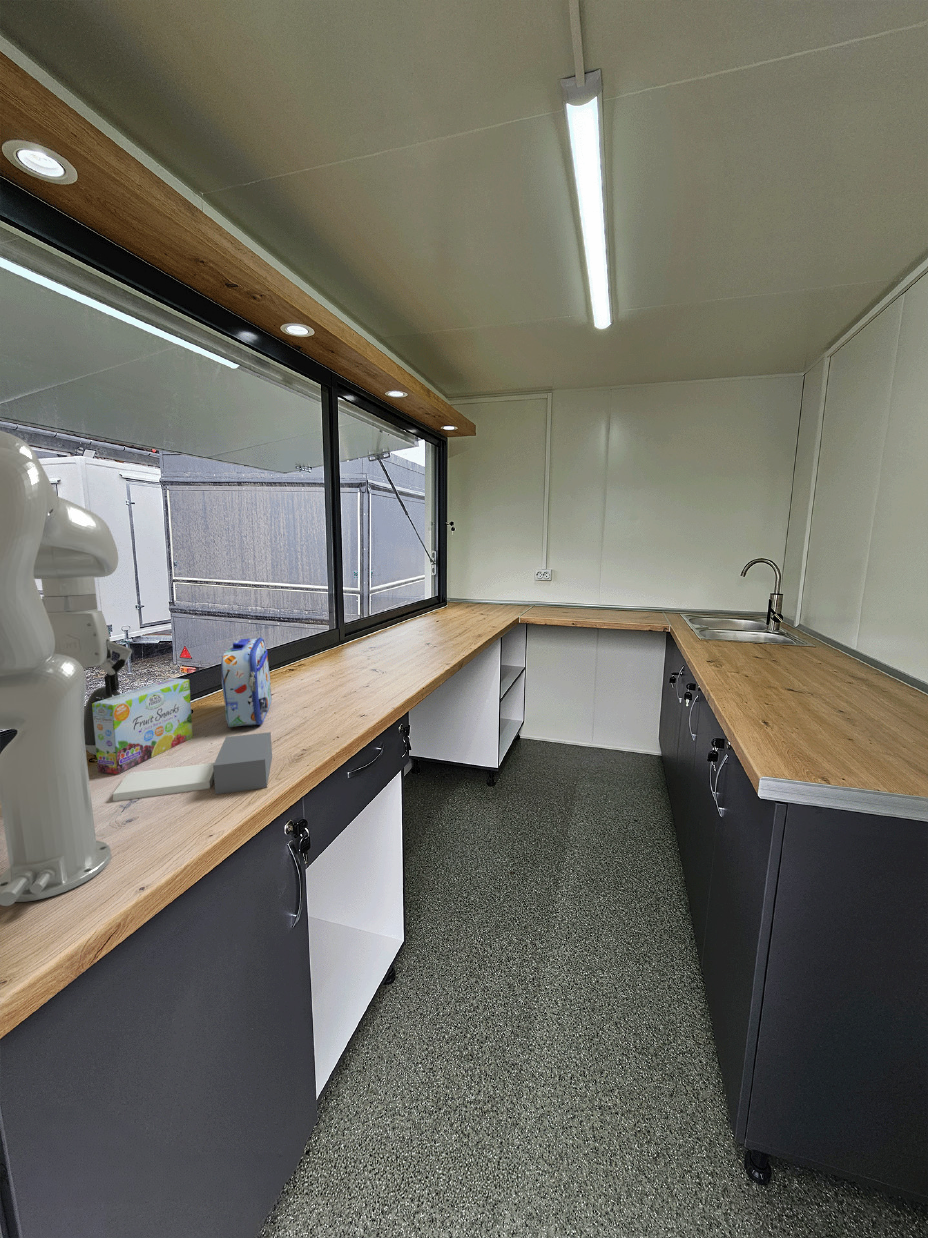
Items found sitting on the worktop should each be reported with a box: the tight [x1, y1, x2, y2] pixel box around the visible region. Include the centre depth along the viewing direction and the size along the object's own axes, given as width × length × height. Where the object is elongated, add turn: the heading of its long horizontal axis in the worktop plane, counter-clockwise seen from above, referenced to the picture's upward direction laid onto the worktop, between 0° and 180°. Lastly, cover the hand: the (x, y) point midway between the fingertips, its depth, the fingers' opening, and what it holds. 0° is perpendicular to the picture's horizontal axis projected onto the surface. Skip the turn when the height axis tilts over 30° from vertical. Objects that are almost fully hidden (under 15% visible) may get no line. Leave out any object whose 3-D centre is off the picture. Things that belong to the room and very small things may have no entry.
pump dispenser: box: [84, 686, 121, 756], centre depth 113 cm, size 10×10×15 cm
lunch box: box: [220, 637, 273, 728], centre depth 136 cm, size 28×10×22 cm, turn 17°
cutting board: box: [112, 762, 215, 802], centre depth 98 cm, size 9×16×2 cm, turn 107°
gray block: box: [213, 732, 273, 795], centre depth 102 cm, size 15×9×6 cm, turn 17°
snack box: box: [92, 677, 194, 775], centre depth 112 cm, size 21×6×15 cm, turn 168°
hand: (81, 696), depth 93 cm, fingers open, 9 cm apart
